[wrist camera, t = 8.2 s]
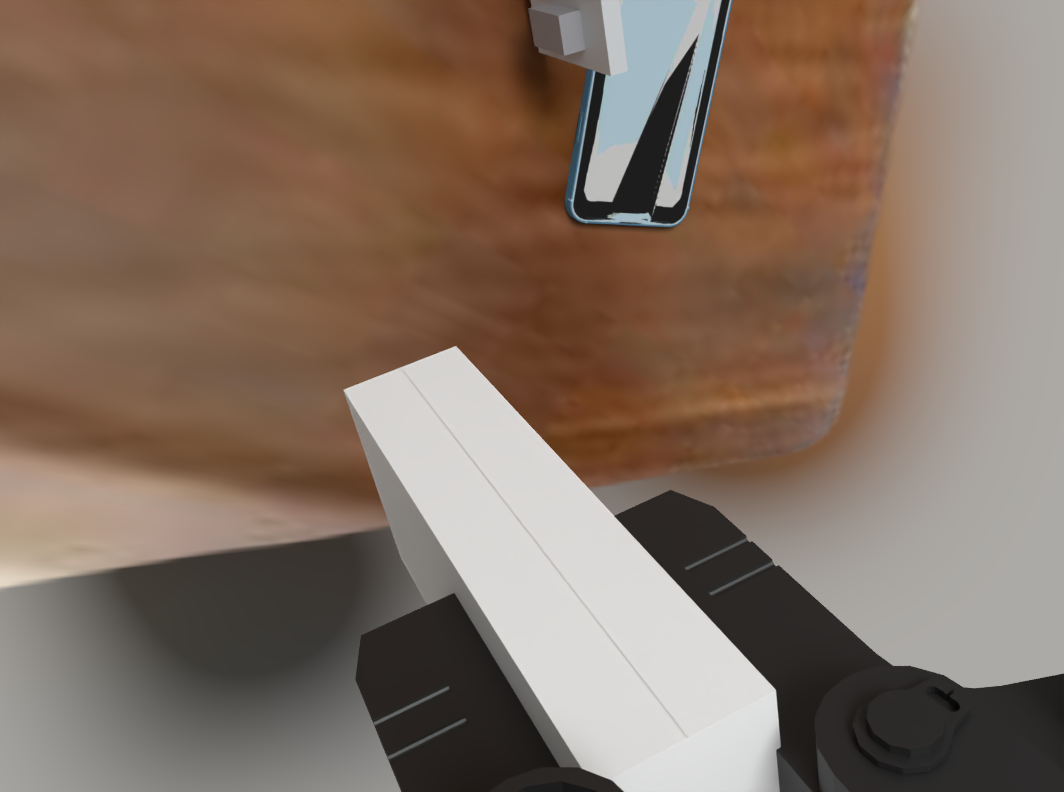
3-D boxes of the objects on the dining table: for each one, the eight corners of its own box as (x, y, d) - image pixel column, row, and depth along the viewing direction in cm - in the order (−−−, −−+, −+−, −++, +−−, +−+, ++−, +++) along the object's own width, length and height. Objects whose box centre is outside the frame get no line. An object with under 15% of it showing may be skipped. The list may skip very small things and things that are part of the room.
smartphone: (749, -73, 49) (685, 228, 54) (737, -73, 50) (676, 223, 55) (619, -102, 46) (566, 222, 51) (609, -101, 46) (557, 217, 52)
